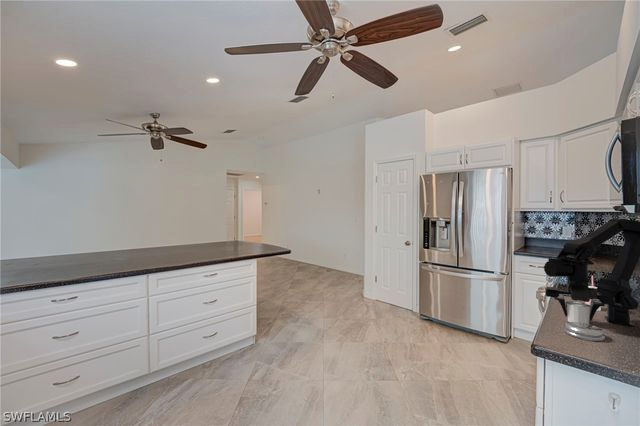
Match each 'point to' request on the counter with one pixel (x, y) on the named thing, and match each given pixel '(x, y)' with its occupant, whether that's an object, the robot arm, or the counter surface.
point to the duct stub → (584, 331)
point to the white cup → (578, 312)
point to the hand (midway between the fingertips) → (578, 318)
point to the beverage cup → (591, 299)
